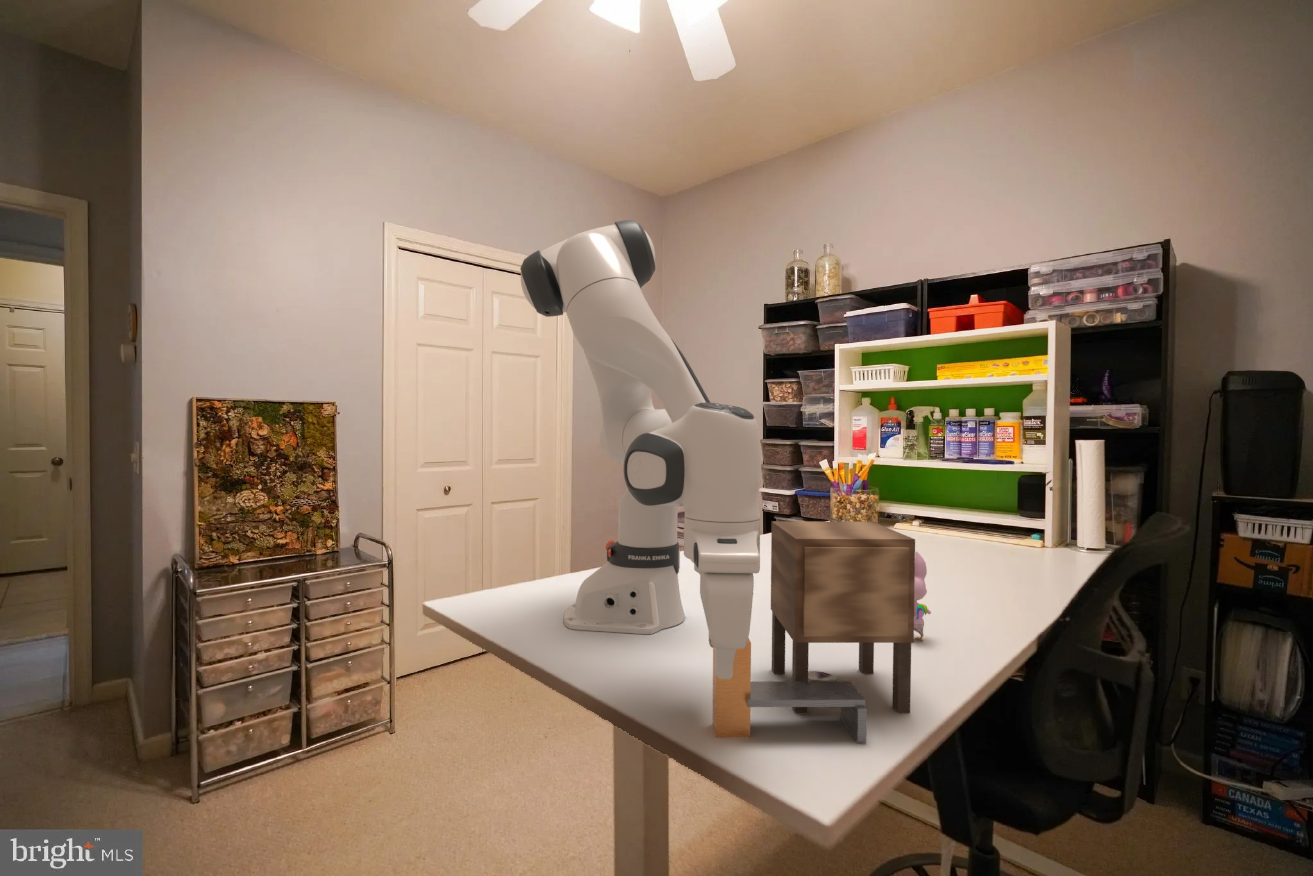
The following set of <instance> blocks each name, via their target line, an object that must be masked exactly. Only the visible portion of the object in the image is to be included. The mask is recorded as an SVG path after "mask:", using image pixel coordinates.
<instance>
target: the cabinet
mask: <svg viewBox="0 0 1313 876" xmlns="http://www.w3.org/2000/svg"><path fill="white" fill-rule="evenodd" d="M770 538H771V541H770V542H771V543H770V544H771V547H770V548H771V552H770V555H771V556H770V610H771V672H772V673H773V674H774V675H785V674H786V633H787V634H788V635H789V637H790V638H791V640H792V651H791V652H792V660H791V665H792V667H791V668H792V671H791V676H792V677H791V678H792V679H791V681H808V671H809V649H810V648H809V647H810V646H809V644H811V643H812V644H813V643H814V644H817V643H818V644H819V643H820V644H822V643H823V644H824V643H825V644H827V643H828V644H829V643H830V644H831V643H833V644H845V643H846V644H849V643H850V644H851V643H852V644H853V643H854V644H855V643H857V644H858V671H860V673H861V674H862V675H874V665H875V663H874V662H875V661H874V660H875V643H876V644H881V643H883V644H889V643H891V644H892V649H893V651H892V700H891V702H892V704H891V705H892V709H893V710H894V711H895V712H896V713H897V714H911V692H912V691H911V688H912V686H911V684H912V683H911V681H912V679H911V678H912V675H911V674H912V673H911V672H912V643H914V642H915V641H914V639H915V638H914V637H915V636H914V635H915V634H914V633H915V631H914V586H915V552H916V539H915V538H913V537H911V536H908V535H905V534H903V533H900V532H898V531H896V530H893V529H891V528H889V527H886V526H884V525H882V524H879V523H877V522H874V521H794V520H793V521H789V520H787V521H784V520H783V521H779V520H777V521H773V520H772V521H771V537H770ZM808 708H809V707H791V709H792V711H793V713H794V714H809V713H808V712H809V711H808V710H809V709H808Z"/></svg>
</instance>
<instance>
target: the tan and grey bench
mask: <svg viewBox="0 0 1313 876" xmlns="http://www.w3.org/2000/svg"><path fill="white" fill-rule="evenodd" d="M712 653H713V654H712V724H711V725H712V729H713V733H714V736H715V738H751V708H792V707H808V708H813V707H814V708H815V707H816V708H817V707H818V708H820V707H821V708H823V707H824V708H827V707H828V708H830V707H832V708H836V707H837V708H838V707H839V708H840V709H839V718H840V720H841V722H842V723H843V725H844V726H845V727H846V729H847V731H848V732H849V733H850V735H851V736H852V737H853V739H854V740H855V742H856V744H864V745H865V744H867V727H868V726H867V722H868V721H867V717H868V716H867V715H868V714H867V712H868V711H867V710H868V708H867V707H866V699H865V698H864V696H863V695H862V694H861V692H860V691H859V690H858V689H857V688H856V686H854V684H853V683H852V682H851V681H850V680H848V681H846V680H845V681H841V680H838V681H792V680H791V681H788V680H786V681H780V680H779V681H772V680H771V681H763V680H762V681H752V679H751V676H752V675H751V674H752V642H751V640H750V637H748V641H747V644H746V646H745V648H743V649H736V653H735V657H734V662H733V676H732V678H731V679H719V678H717V676H716V671H715V658H716V648H714V647H713V648H712Z"/></svg>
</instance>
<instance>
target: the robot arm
mask: <svg viewBox="0 0 1313 876" xmlns="http://www.w3.org/2000/svg"><path fill="white" fill-rule="evenodd" d="M655 271H656V250H655V246H654V243H653V240H652V239H651V237H650V236H649V234H648V232H646V230H645V229H644V227H643V226H642V224H640V223H639V222H637V221H636V220H634V219H630V220H629V219H628V220H627V219H626V220H618V221H615V222H614V224H610V225H606V226H600V227H596V228H592V229H589V230H585V231H582V232H579V233H576V234H574V235H572V236H571V237H568V238H566V239H564V240H562V241H560V242H557V243H555V244H553V245H550V246H548V247H547V248H545V249H543V250H541V251H540V250H539V249H538V250H536V251H535V252H533V253H531V254H529V255H528V256H526V257H525V258H524V259H523V261H522V263H521V265H520V272H521V273H520V285H521V290H522V292H523V295H524V297H525V298H526V301H527V302H528V303H529V304H530V305H531V307H533V308H534V309H535V310H536V312H537V313H538V314H540V315H542V316H543V317H546V318H547V317H549V318H550V317H558V316H563V315H564V313H566V316H567V318H568V321H569V325H570V327H571V330H572V332H573V335H574V337H575V339H576V341H577V342H578V344H579V345H580V347H581V348H582V350H583V352H584V355H585V357H586V360H587V363H588V366H589V368H590V372H591V375H592V376H593V377H592V378H593V379H594V382H595V383H594V384H595V386H596V389H597V392H598V397H599V402H600V409H601V416H602V417H601V421H602V427H601V430H600V433H599V443H600V447H601V449H602V451H603V452H604V454H605V455H606V456H607V457H608V458H609V459H610V460H611V459H612V460H613V461H614V462H616V463H618V464H620V465H622V466H623V478H624V482H625V486H626V489H625V491H624V493H623V494H622V495H621V496H620V498H619V501H618V505H617V507H618V508H617V509H618V510H617V518H618V519H617V524H618V526H617V527H618V528H617V541H615V540H613V539H612V540H611V539H610V540H608V541H607V543H606V544H605V549H606V561H607V562H606V563H604V564H603V565H602V566H600V568H598V569H597V570H595V571H594V572H593V573H591V574H590V575H589V576H588V577H587V578H585V579H584V580H583V581H582V583H581V584H580V587H579V589H578V590H577V596H576V599H575V603H574V604H571V605H570V606H569V607H568V608H567V609H566V610H565V612H564V614H563V615H564V616H563V624H564V626H565V627H566V628H568V629H569V630H575V631H576V630H578V631H591V632H607V633H618V634H619V633H622V634H635V635H636V634H639V635H652V634H653V635H654V634H655V633H657V632H659V631H661V630H664V629H668V628H672V627H675V626H678V625H680V624H682V623H683V622H684V621H685V620H686V615H685V611H684V608H683V607H684V606H683V603H682V598H681V593H680V591H681V590H680V584H679V573H680V572H679V571H680V567H681V565H680V564H681V549H680V544H679V542H678V515H679V511H678V510H679V508H678V507H683V509H684V518H683V519H684V520H683V522H684V523H683V555H684V557H685V558H686V559H688V560H690V561H691V562H692V563H693V566H694V567H693V568H694V569H693V570H694V571H695V572H696V573H698V574H699V595H700V599H701V600H700V601H701V604H702V607H703V608H702V609H703V614H704V617H705V621H706V625H707V629H708V644H709V646H710V647H711V648H712V649H713V647H714V648H716V658H715V671H716V676H717V678H719V679H731V678H732V676H733V662H734V657H735V653H736V649H743V648H745V646H746V644H747V641H748V638H750V637H749V636H750V629H751V622H752V621H751V620H752V610H753V599H754V598H753V597H754V583H755V582H754V579H755V578H754V574H759V573H760V570H761V553H760V552H761V548H760V547H761V512H760V508H759V503H758V494H759V489H760V485H761V483H762V448H761V437H760V435H761V434H760V429H759V425H758V421H757V420H756V417H755V415H754V414H753V413H752V412H751V411H749V410H748V409H747V408H746V409H745V408H743V407H740V406H735V405H731V404H721V403H717V402H711V401H710V399H709V397H708V395H707V393H706V392H705V390H704V388H703V386H702V384H701V383H700V382H699V379H698V378H697V376H696V374H695V373H694V370H693V368H692V367H691V365H690V363H689V362H688V360H687V358H686V357H685V355H684V354H683V352H682V350H681V349H680V348H679V347H678V346H677V344H676V342H674V340H673V339H672V338H671V337H670V336H669V334H668V333H667V332H666V330H665V329H664V328H663V327H662V325H661V323H660V321H659V320H658V319H657V317H656V316H655V314H654V312H653V311H652V309H651V307H650V305H649V303H648V301H647V300H646V298H645V296H644V293H643V291H642V288H643V286H644V285H646V284H647V283H648V282H649V281H650V280H651V278H652V277H653V276H654V273H655ZM652 392H653V393H654V394H655V395H656V396H657V397H658V399H659V400H660V402H661V404H662V406H663V408H660V409H659V408H655V407H654V404H653V399H652Z"/></svg>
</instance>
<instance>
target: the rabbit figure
mask: <svg viewBox="0 0 1313 876" xmlns="http://www.w3.org/2000/svg"><path fill="white" fill-rule="evenodd" d="M927 572H928V569H927V565H926V561H925V559H924V558H923V556H922V555H921V553H920V552H918V551H915V586H914V632H916V633H918V634H919V635H920V637H919V636H917V637H916V638H914V639H915V640H916V639H917V640H918V641H921V642H923V637H924V636H925V635H924V626H925V621H924V617H925V616H926V615H931V614H932V612H931V610H929V608H928V607H927V605H926V604H924V603H919V602H917V601H920V600H923V598H924V597H925V596H926V595H927V592H928V590H927V588H926V587H927V585H926V582H925V579H926V576H927Z"/></svg>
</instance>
